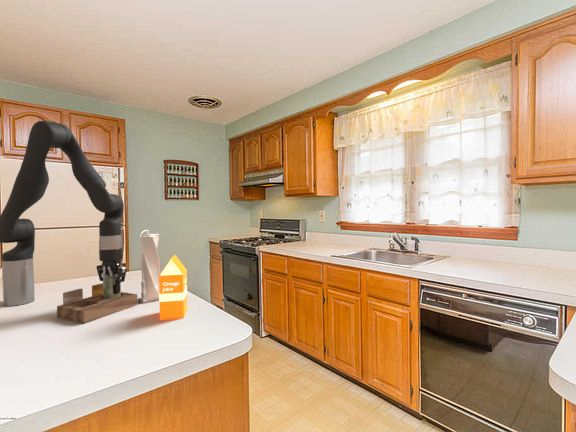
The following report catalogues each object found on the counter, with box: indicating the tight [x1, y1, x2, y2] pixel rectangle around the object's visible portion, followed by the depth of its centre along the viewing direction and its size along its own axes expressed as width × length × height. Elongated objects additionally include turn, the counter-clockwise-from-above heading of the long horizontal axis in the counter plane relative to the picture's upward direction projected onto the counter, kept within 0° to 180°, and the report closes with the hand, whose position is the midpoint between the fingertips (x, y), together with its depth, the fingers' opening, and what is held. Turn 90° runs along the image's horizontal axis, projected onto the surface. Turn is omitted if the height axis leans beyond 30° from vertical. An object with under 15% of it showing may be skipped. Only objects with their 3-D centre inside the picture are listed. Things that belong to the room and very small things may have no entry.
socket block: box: [56, 282, 139, 324], centre depth 108 cm, size 14×20×8 cm
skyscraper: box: [137, 229, 161, 305], centre depth 121 cm, size 8×8×28 cm
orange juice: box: [158, 254, 188, 321], centre depth 103 cm, size 8×9×20 cm
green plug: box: [102, 274, 122, 299], centre depth 112 cm, size 4×4×10 cm
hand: (112, 292), depth 112 cm, fingers closed on green plug, 4 cm apart
